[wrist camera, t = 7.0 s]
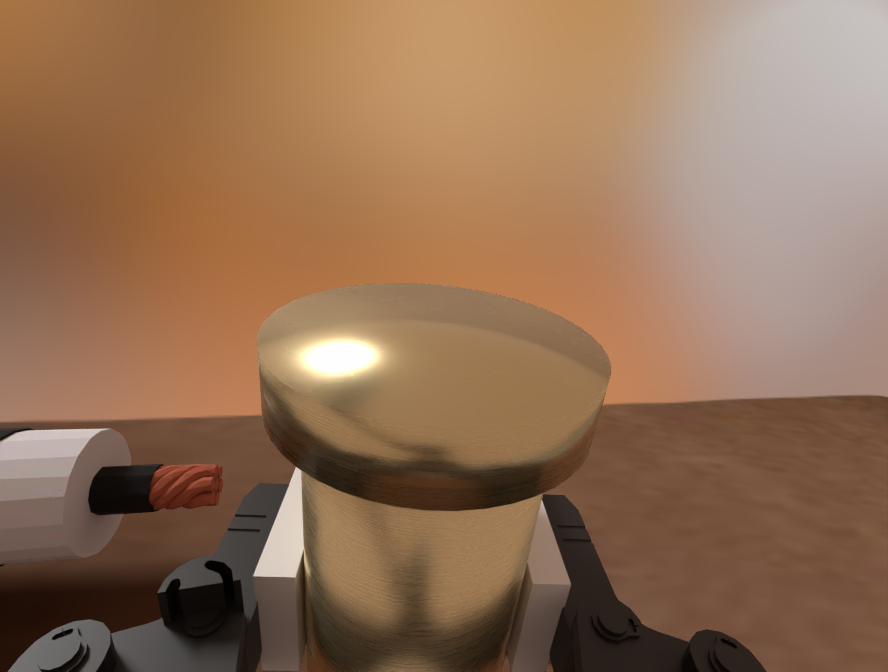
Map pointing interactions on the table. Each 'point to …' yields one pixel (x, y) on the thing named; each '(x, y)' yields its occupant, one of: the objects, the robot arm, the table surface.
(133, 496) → the cable
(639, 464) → the table surface
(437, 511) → the end pin
